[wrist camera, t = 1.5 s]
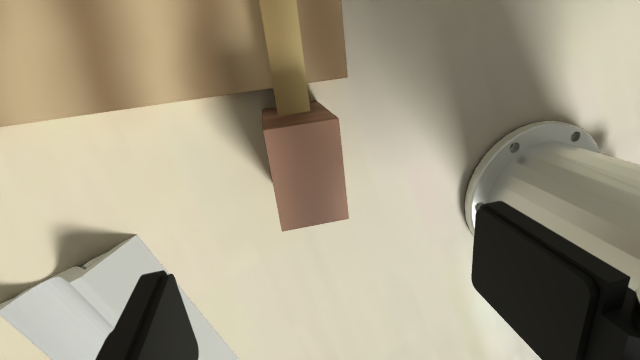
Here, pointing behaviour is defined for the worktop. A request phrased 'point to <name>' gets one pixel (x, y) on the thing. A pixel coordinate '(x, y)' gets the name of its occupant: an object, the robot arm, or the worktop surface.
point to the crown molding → (96, 306)
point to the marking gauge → (299, 130)
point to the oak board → (146, 53)
